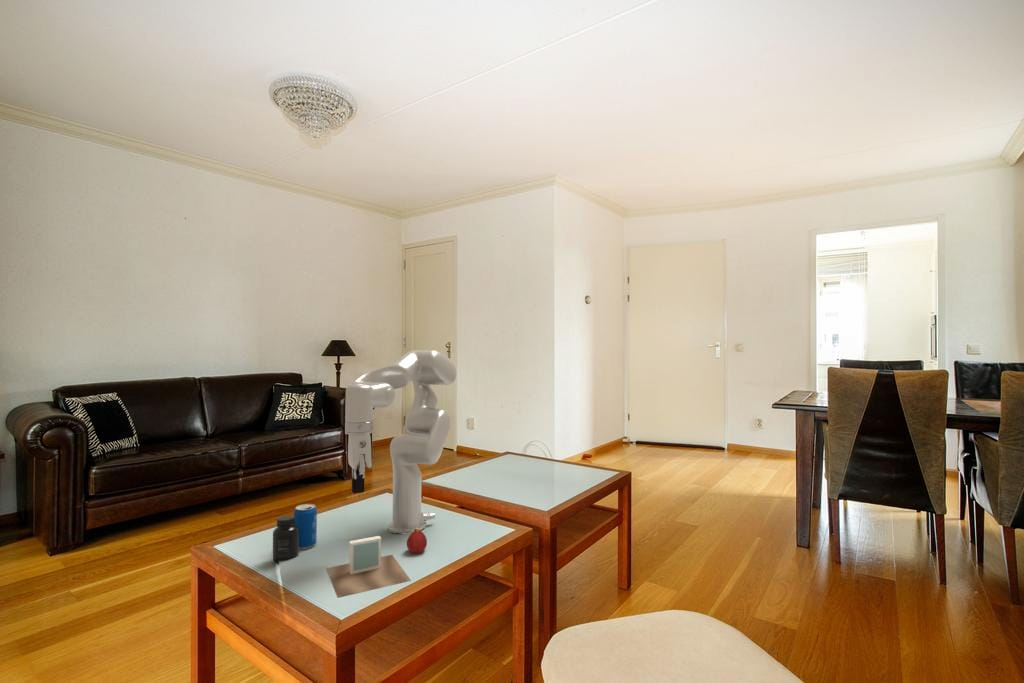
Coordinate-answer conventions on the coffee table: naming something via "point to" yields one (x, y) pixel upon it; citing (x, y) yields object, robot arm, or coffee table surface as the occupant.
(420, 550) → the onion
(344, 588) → the board
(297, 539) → the supplement bottle
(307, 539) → the beverage can
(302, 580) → the coffee table surface
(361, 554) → the tile
